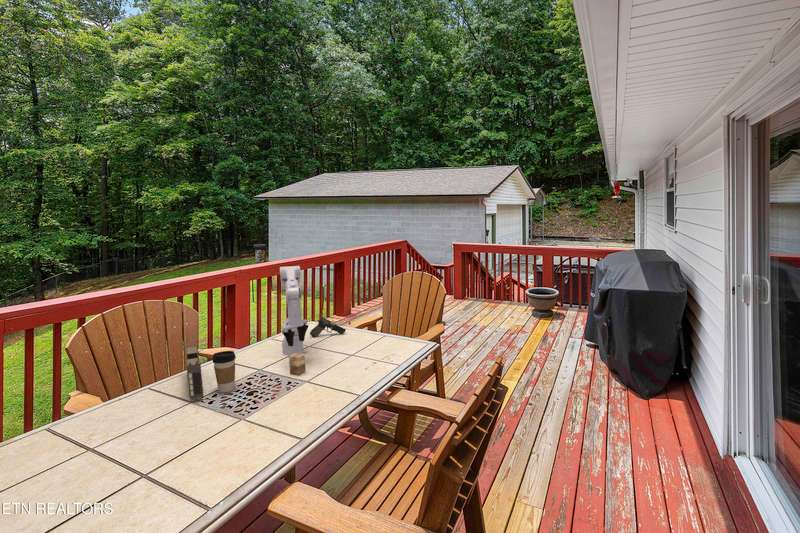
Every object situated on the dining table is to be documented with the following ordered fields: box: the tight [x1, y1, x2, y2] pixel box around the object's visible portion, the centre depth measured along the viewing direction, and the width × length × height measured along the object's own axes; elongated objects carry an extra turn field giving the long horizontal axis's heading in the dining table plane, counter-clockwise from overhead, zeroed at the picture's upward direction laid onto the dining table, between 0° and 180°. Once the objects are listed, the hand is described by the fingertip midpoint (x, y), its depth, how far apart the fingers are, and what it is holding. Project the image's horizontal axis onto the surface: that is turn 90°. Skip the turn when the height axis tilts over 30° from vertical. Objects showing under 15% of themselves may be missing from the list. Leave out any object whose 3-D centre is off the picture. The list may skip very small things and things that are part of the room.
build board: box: [287, 370, 309, 378], centre depth 175 cm, size 14×11×1 cm
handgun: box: [309, 317, 346, 338], centre depth 228 cm, size 17×2×12 cm
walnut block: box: [289, 362, 306, 377], centre depth 173 cm, size 4×4×4 cm
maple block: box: [288, 353, 306, 367], centre depth 173 cm, size 4×4×4 cm
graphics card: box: [185, 346, 204, 403], centre depth 164 cm, size 33×5×14 cm, turn 28°
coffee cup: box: [211, 350, 236, 394], centre depth 159 cm, size 8×8×15 cm
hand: (296, 343), depth 182 cm, fingers open, 7 cm apart
